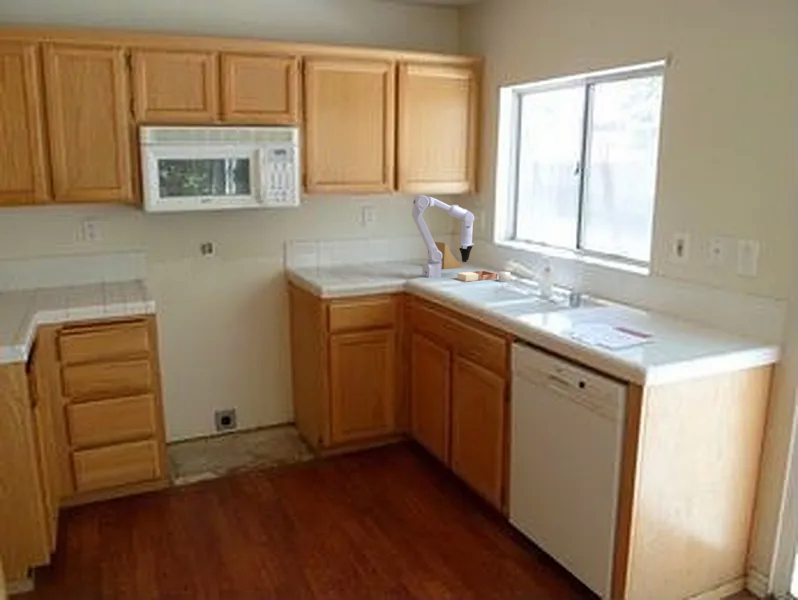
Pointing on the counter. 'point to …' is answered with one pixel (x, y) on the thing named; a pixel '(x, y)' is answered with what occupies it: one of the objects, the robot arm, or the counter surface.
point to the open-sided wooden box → (481, 276)
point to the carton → (467, 276)
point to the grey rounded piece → (504, 276)
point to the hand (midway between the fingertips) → (465, 260)
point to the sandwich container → (447, 257)
